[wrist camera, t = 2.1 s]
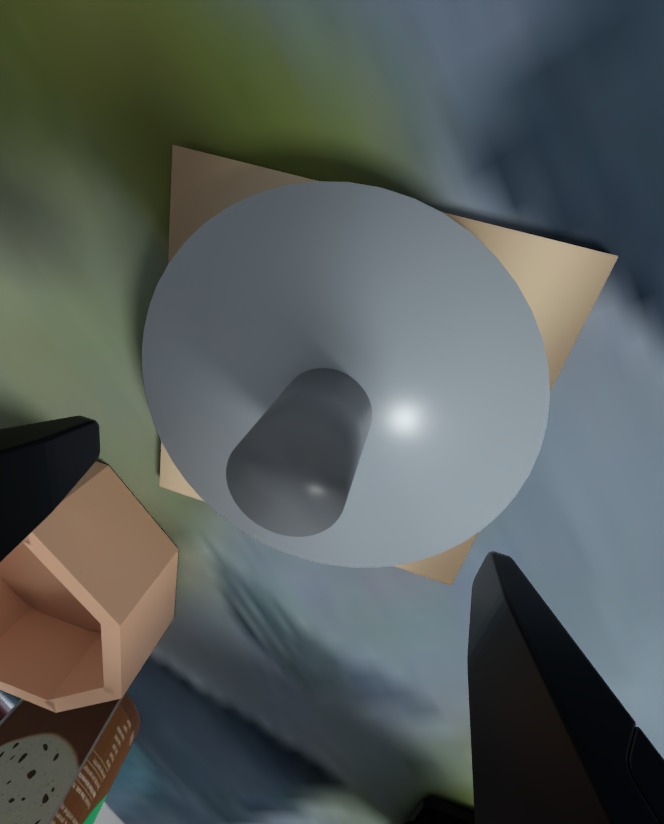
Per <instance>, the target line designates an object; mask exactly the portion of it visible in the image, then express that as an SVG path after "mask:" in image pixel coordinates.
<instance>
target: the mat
mask: <svg viewBox="0 0 664 824" xmlns="http://www.w3.org/2000/svg"><path fill="white" fill-rule="evenodd" d="M314 181H317V180H313V179H309V178H305V177H301V176H297V175H293V174H289V173H285V172H281V171H277V170H273V169H269V168H265V167H261V166H257V165H253V164H249V163H245V162H241V161H237V160H233V159H229V158H225V157H221V156H217V155H213V154H209V153H205V152H201V151H197V150H193V149H189V148H185V147H181V146H176V145H173V146H172V172H171V198H170V225H169V251H168V264H169V262H170V261H171V260H172V258H173V257H174V256H175V254H176V253H177V252H178V251H179V249H180V248H181V247H182V245H183V244H184V243H185V241H187V240H188V239H189V238H190V237H191V236H192V235H193V234H194V233H195V232H196V231H197V230H198V229H199V228H200V227H201V226H202V225H203V224H204V223H206V222H207V221H208V220H210V219H211V218H213V217H214V216H216V215H217V214H219V213H220V212H222V211H223V210H224V209H226V208H227V207H229V206H231V205H233V204H235V203H237V202H239V201H242V200H244V199H246V198H248V197H250V196H252V195H254V194H257V193H260V192H264V191H267V190H271V189H274V188H277V187H281V186H284V185H291V184H299V183H306V182H314ZM443 213H444V212H443ZM444 214H446V215H447V216H449V217H450V218H451V219H453V220H454V221H456V222H457V223H458V224H460V225H461V226H463V227H464V228H466V229H467V230H468V231H470V232H471V233H472V234H473V235H474V236H475V237H476V238H477V239H478V240H479V241H480V242H481V243H482V244H483V245H485V246H486V247H487V248H488V249H489V250H490V251H491V252H492V253H493V254H494V255H495V256H496V257H497V258H498V260H499V261H500V262H501V263H502V265H503V266H504V267H505V269H506V270H507V271H508V273H509V274H510V275H511V276H512V278H513V279H514V280H515V282H516V283H517V285H518V286H519V288H520V290H521V292H522V294H523V295H524V297H525V299H526V301H527V303H528V304H529V306H530V308H531V310H532V312H533V315H534V317H535V320H536V323H537V325H538V328H539V331H540V334H541V336H542V339H543V343H544V348H545V353H546V358H547V363H548V368H549V384H550V390H551V388H552V386H553V384H554V382H555V381H556V379H557V377H558V375H559V373H560V371H561V369H562V367H563V365H564V363H565V361H566V359H567V357H568V355H569V353H570V351H571V349H572V347H573V345H574V343H575V341H576V339H577V337H578V335H579V333H580V331H581V329H582V327H583V325H584V323H585V321H586V319H587V317H588V315H589V313H590V312H591V310H592V308H593V306H594V304H595V302H596V300H597V298H598V296H599V294H600V292H601V290H602V288H603V286H604V284H605V282H606V280H607V278H608V276H609V274H610V272H611V270H612V268H613V266H614V264H615V262H616V260H617V258H618V256H616V255H612V254H608V253H604V252H600V251H596V250H592V249H588V248H584V247H580V246H576V245H572V244H568V243H564V242H560V241H556V240H552V239H548V238H544V237H540V236H536V235H532V234H528V233H524V232H520V231H516V230H512V229H508V228H504V227H500V226H496V225H492V224H488V223H484V222H480V221H476V220H472V219H468V218H464V217H460V216H456V215H452V214H448V213H444ZM160 487H163V488H166V489H169V490H172V491H175V492H178V493H181V494H184V495H187V496H190V497H192V498H195V499H198V500H201V501H204V500H203V499H202V498H201V497H200V496H199V495H198V494H197V493H196V492H195V491H194V489H193V488H192V487H191V486H190V485H189V484H188V482H187V481H186V480H185V479H184V477H183V476H182V474H181V473H180V472H179V470H178V469H177V467H176V466H175V465H174V463H173V461H172V460H171V458H170V456H169V454H168V453H167V451H166V449H165V447H164V445H163V444H162V441H161V462H160ZM204 502H205V501H204ZM477 534H478V533H476V534H475V535H473V536H472V537H470V538H469V539H467V540H466V541H464V542H463V543H461V544H459V545H457V546H455V547H453V548H451V549H449V550H447V551H445V552H442V553H440V554H437V555H434V556H431V557H428V558H426V559H423V560H419V561H415V562H410V563H406V564H402V565H395V567H398V568H401V569H404V570H407V571H410V572H413V573H416V574H419V575H422V576H425V577H428V578H430V579H433V580H436V581H439V582H442V583H445V584H448V585H452V584H453V582H454V580H455V578H456V576H457V574H458V572H459V570H460V568H461V566H462V564H463V562H464V560H465V558H466V556H467V554H468V552H469V550H470V548H471V546H472V544H473V542H474V540H475V538H476V536H477Z"/></svg>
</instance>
